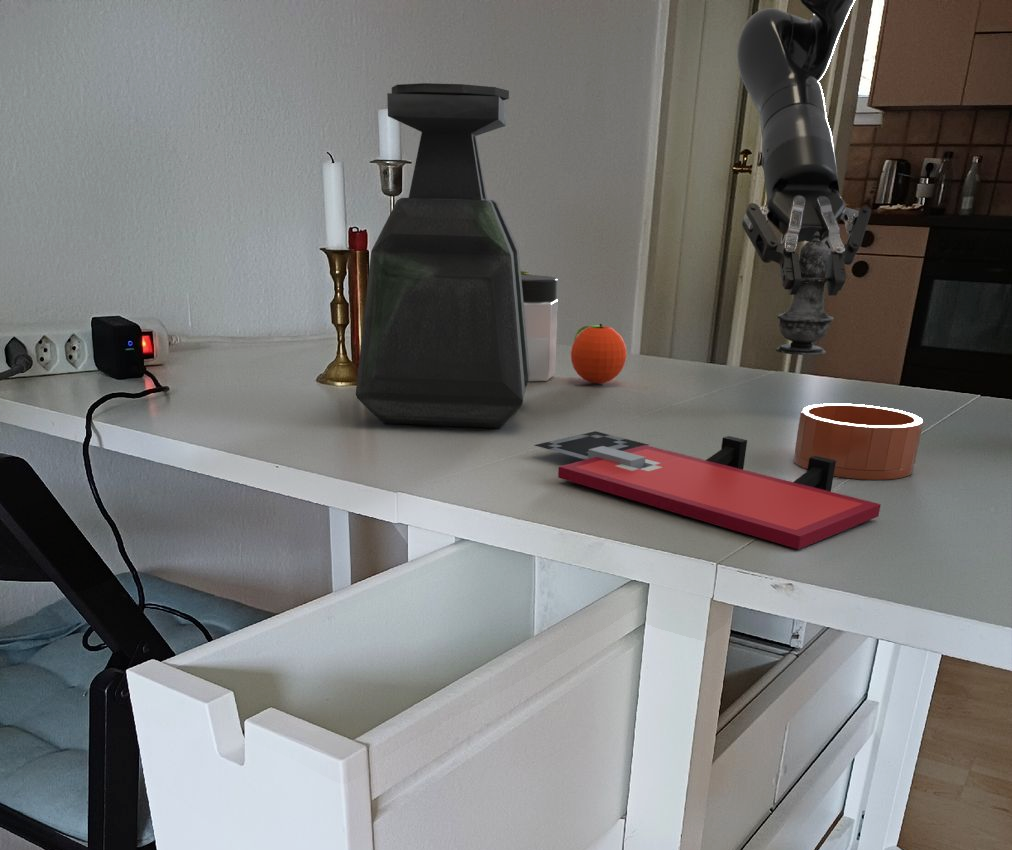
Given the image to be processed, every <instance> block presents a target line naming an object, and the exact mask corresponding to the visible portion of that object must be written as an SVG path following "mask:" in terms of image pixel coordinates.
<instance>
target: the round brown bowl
mask: <svg viewBox="0 0 1012 850" xmlns="http://www.w3.org/2000/svg"><path fill="white" fill-rule="evenodd" d="M923 426H924V421H923V418H922V417H919V416H918V415H916V414H913V413H910V412H906V411H903V410H899V409H894V408H888V407H880V406H874V405H867V404H866V405H865V404H853V403H823V404H822V403H820V404H812V405H807V406H805V407H802V408H801V409H800V415H799V421H798V427H797V432H796V433H797V434H796V440H795V445H794V453H793V454H794V455H793V462H794V464H795V465H796V466H799V467H800V468H802V469H805V470H807V469H808V463H809V458H810V457H813V456H818V457H823V458H827V459H831V460H836V465H835V470H834V476H833V477H837V478H844V479H852V480H853V479H854V480H867V481H868V480H870V481H882V480H883V481H885V480H896V479H897V480H898V479H902V478H906V477H909V476H911V475H912V473H913V471H914V467H915V464H916V460H917V455H918V450H919V446H920V440H921V437H922V436H921V435H922V432H923V428H924V427H923Z"/></svg>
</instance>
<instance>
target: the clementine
mask: <svg viewBox="0 0 1012 850" xmlns="http://www.w3.org/2000/svg"><path fill="white" fill-rule="evenodd" d="M627 356H628V355H627V346H626V343H625V341H624V339H623V337H622V335H621V334H620V333H619V332H617V331H616V330H615V328H613V327H610V326H606V325H605V326H604V325H603V323H599V325H598V324H597V325H596V324H594V325H585V326H582V327H580V328H579V329H578V330H577V332H576V333H575V335H574V338H573V344H572V346H571V351H570V359H571V364H572V367H573V369H574V371H575V372H576V373H577V375H578V376H579V377H580V378H581V379H583V380H584V381H587V382H588V383H590V384H604V383H605V384H606V383H608V382H610V381H612V380H613V379H615V378H616V377H618V375H620V373H621V371H622V370H623V368H624V366H625V364H626V360H627Z"/></svg>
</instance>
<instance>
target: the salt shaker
mask: <svg viewBox="0 0 1012 850" xmlns="http://www.w3.org/2000/svg"><path fill="white" fill-rule="evenodd" d="M813 236H814V240H811V242H808V241H806V242H805V243H804V244H802V246H801V248H800V252H799V253H800V254H799V263H800V271H801V279H802V281H801V286H800V288H799V290H798V292H797V294H796V295H793V299H792V302H791V304H790V307H789V308H788V309H787V310H786V311H784V313H780V314H778V315H777V316H776V318H777V319H779V325H778V326H779V331H780V334H781V335H782V336H783V338H784V339H786V340H788V341H791V342H790V343H785V344H780V345H779V346H778V347H776V348H775V352H778V353H781V354H787V355H794V356H796V355H797V356H821V355H825V354H826V352H827V351H826V350H825V349H824V348H823V347H822V346H820V345H814V344H813V343H815V342H817V341H818V342H819V341H821V340H822V339H823V338H824V337H825V336H826V335H827V334H828V331H829V329H830V325H831V322H833V321H834V320H835V318H834V317H833V316H830V315H828V314H827V312H826V311H825V310H824V303H823V301H824V300H823V298H824V291H825V290H824V289H825V285H826V284H827V282H826V281H828V279H827V278H826V275H825V273H826V267H827V260H828V253H829V248H828V246H827V245H826V244H825V243H823V242H821V240H819V236H820V235H819V233H818V231H817V232H816V233H815V235H813Z"/></svg>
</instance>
